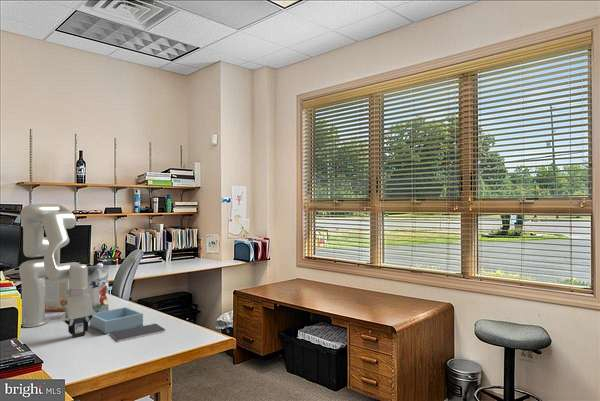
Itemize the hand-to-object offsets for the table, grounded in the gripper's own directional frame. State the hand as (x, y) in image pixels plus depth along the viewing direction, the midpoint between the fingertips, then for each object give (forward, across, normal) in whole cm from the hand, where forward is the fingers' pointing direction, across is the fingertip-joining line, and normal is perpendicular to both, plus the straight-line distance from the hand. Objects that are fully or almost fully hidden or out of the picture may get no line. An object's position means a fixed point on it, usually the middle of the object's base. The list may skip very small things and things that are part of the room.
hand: (78, 331), depth 188 cm
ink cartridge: (+2, 0, 0) cm, 2 cm away
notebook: (+3, +20, -16) cm, 26 cm away
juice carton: (+2, +21, +32) cm, 38 cm away
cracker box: (+2, +10, +55) cm, 56 cm away
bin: (+2, +18, +2) cm, 18 cm away
